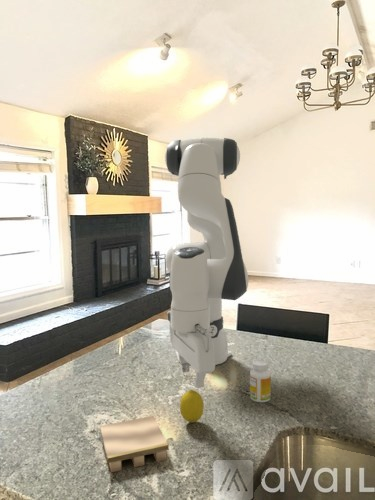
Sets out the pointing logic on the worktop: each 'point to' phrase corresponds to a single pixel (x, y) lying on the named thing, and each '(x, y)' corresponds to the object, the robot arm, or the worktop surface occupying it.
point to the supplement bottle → (260, 381)
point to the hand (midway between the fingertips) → (191, 378)
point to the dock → (133, 441)
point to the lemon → (191, 406)
